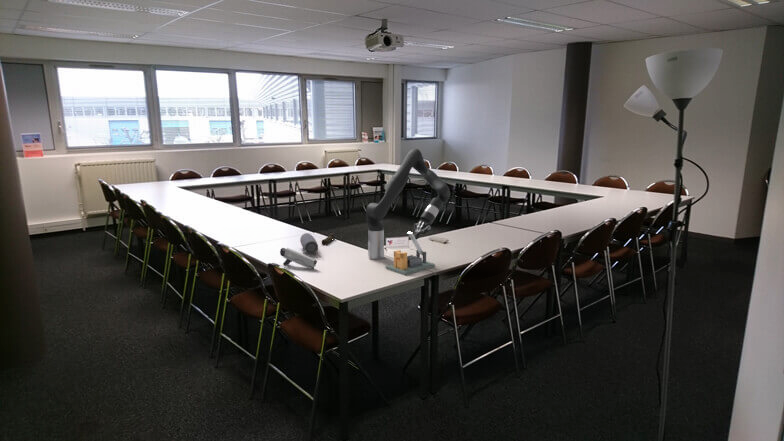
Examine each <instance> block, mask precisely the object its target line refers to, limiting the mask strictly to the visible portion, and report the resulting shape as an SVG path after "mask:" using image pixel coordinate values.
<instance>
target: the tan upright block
mask: <svg viewBox="0 0 784 441" xmlns="http://www.w3.org/2000/svg"><path fill="white" fill-rule="evenodd" d="M407 256H408V252H407V251H404V252H402V250H399V249H398V250H395V251H393V264H394V267H395V268H396V267H397V268H399V269H401V270H403V269H407Z"/></svg>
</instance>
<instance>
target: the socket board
mask: <svg viewBox="0 0 784 441" xmlns="http://www.w3.org/2000/svg"><path fill="white" fill-rule="evenodd" d="M420 255H421V254H419V253H418V250H417V249H416V255H415V256H416V257H419V258H421V256H420ZM434 266H435V267H436V263H433V262H430V261H427V251H423V255H422V265H420V266H417V267H413V268H409V267H407V269H403V270H401V269H399V268H397V267H396V268H395V267H394V263H391V264H388V265H385V269H386V270H390V271H392V272H394V273H397V274H401V275H403V276H407V274H408V275H410V274H415V273H417V272H420V271H421V272H422V271H425V270H428V269H431V268H435V267H434ZM427 268H428V269H427ZM424 269H425V270H424Z"/></svg>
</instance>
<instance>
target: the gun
mask: <svg viewBox="0 0 784 441" xmlns="http://www.w3.org/2000/svg"><path fill="white" fill-rule="evenodd" d="M279 254H280V256H281V257H282V258H284V259H286V260H284V262H283V263H282V265H283V266H288V265H290V263H292V262H294V263H295V264H297V265H300V266H302V267H305V268H307V269H310V270H314V269H315V267H317V266H316V265H317V263H318V260H317V259H315V258H313V257H311V256H308V255H306V254H303V253H301V252H298V251H296V250H294V249H291V248H289V247H287V248H285V247H281V248H280V251H279Z"/></svg>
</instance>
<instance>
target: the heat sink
mask: <svg viewBox="0 0 784 441" xmlns="http://www.w3.org/2000/svg"><path fill="white" fill-rule="evenodd" d="M422 260H423V257H420V258H419V257H416V255H413V254H411V255H407V267H409V268H413V267H417V266H420V265H422Z"/></svg>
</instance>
